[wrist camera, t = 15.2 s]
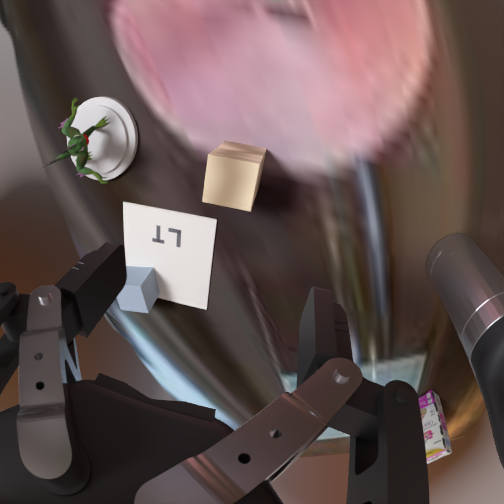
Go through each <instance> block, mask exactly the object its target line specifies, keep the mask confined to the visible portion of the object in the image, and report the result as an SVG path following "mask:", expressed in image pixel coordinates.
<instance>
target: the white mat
mask: <svg viewBox="0 0 504 504" xmlns="http://www.w3.org/2000/svg"><path fill="white" fill-rule="evenodd" d="M123 216H124V241H125V257H126V266H136V267H153V268H154V272H155V276H156V280H157V284H158V288H159V292H160V294H159V296H158V297H157V298H161V299H165V300H169V301H173V302H177V303H181V304H185V305H189V306H193V307H197V308H201V309H206V310H207V303H208V293H209V284H210V275H211V266H212V257H213V248H214V240H215V232H216V224H217V219H213V218H208V217H203V216H198V215H192V214H187V213H182V212H177V211H172V210H166V209H161V208H156V207H150V206H145V205H140V204H134V203H129V202H123Z"/></svg>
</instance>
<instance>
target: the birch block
mask: <svg viewBox="0 0 504 504" xmlns="http://www.w3.org/2000/svg"><path fill="white" fill-rule="evenodd" d="M265 154H266V148H261V147H256V146H251V145H245V144H240V143H234V142H229V141H225V142H224V143H222V144H221V145H220V146H218V147H217V148H216V149H215V150H213V151H212V152H211V153H210V154H208V161H207V168H206V176H205V184H204V192H203V200H202V202H207V203H212V204H217V205H221V206H226V207H231V208H236V209H241V210H246V211H251V209H252V206H253V203H254V200H255V197H256V194H257V191H258V188H259V184H260V179H261V174H262V169H263V164H264V159H265Z"/></svg>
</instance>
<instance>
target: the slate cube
mask: <svg viewBox="0 0 504 504" xmlns="http://www.w3.org/2000/svg"><path fill="white" fill-rule="evenodd" d="M126 270H127V280H126V284H125V286H124V288H123V289H122V291H121V292H120V293H119V295H118V296H117V300H118V303H119V305H120V308H121V310H127V311H135V312H144V313H149V311H150V310H151V308H152V306H153V304H154V303H155V301H156V299H157V297H158V296H159V294H160V292H159V288H158V284H157V280H156V276H155V272H154V268H153V267H136V266H126Z"/></svg>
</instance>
